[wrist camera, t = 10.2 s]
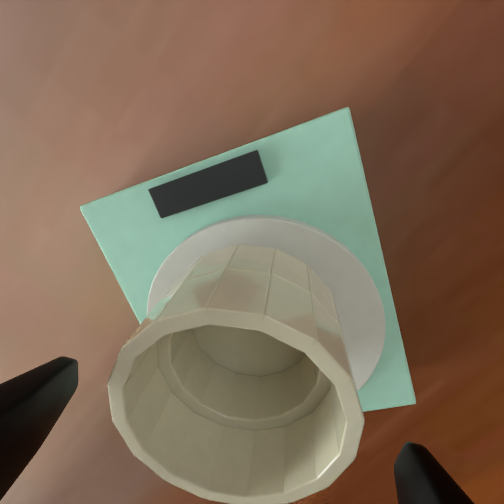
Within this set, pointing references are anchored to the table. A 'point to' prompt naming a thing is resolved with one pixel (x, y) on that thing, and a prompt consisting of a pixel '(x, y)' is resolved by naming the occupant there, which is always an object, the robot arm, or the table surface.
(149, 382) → the beige cup
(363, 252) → the scale
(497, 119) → the table surface
